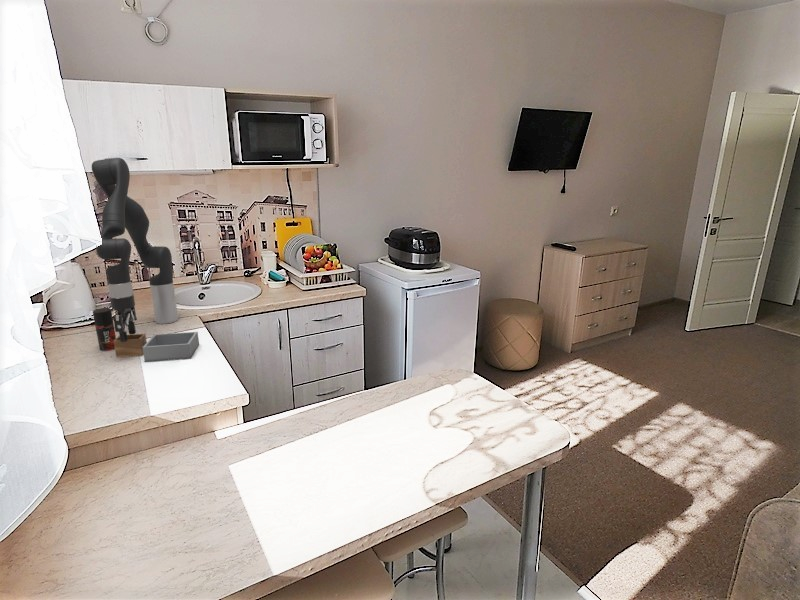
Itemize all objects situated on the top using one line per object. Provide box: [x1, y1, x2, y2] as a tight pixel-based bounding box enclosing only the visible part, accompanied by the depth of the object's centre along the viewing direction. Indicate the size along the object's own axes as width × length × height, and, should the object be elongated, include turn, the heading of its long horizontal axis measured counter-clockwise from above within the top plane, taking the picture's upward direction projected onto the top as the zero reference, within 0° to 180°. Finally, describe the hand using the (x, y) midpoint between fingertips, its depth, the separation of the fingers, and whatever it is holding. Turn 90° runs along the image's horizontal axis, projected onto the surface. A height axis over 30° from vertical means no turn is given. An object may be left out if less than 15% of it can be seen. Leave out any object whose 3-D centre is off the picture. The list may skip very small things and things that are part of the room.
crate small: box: [113, 333, 148, 358], centre depth 184 cm, size 6×9×6 cm, turn 100°
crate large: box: [142, 331, 200, 363], centre depth 184 cm, size 14×16×6 cm
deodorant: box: [92, 307, 117, 352], centre depth 189 cm, size 6×6×15 cm
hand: (128, 337), depth 183 cm, fingers open, 8 cm apart
